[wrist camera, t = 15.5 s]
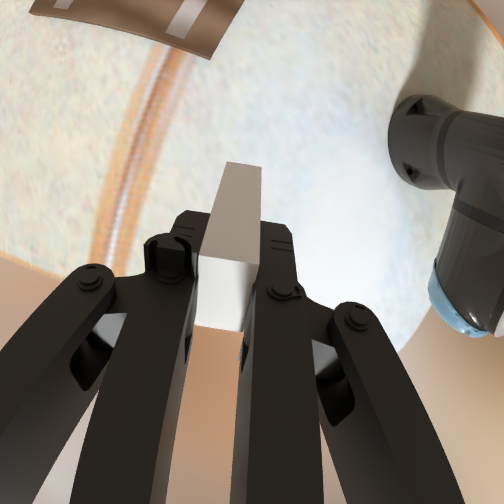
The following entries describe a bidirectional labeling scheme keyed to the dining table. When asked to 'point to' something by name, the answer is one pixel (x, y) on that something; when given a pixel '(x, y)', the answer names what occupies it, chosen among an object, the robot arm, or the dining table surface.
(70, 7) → the board
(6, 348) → the robot arm
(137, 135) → the dining table surface
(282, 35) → the dining table surface
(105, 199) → the dining table surface
